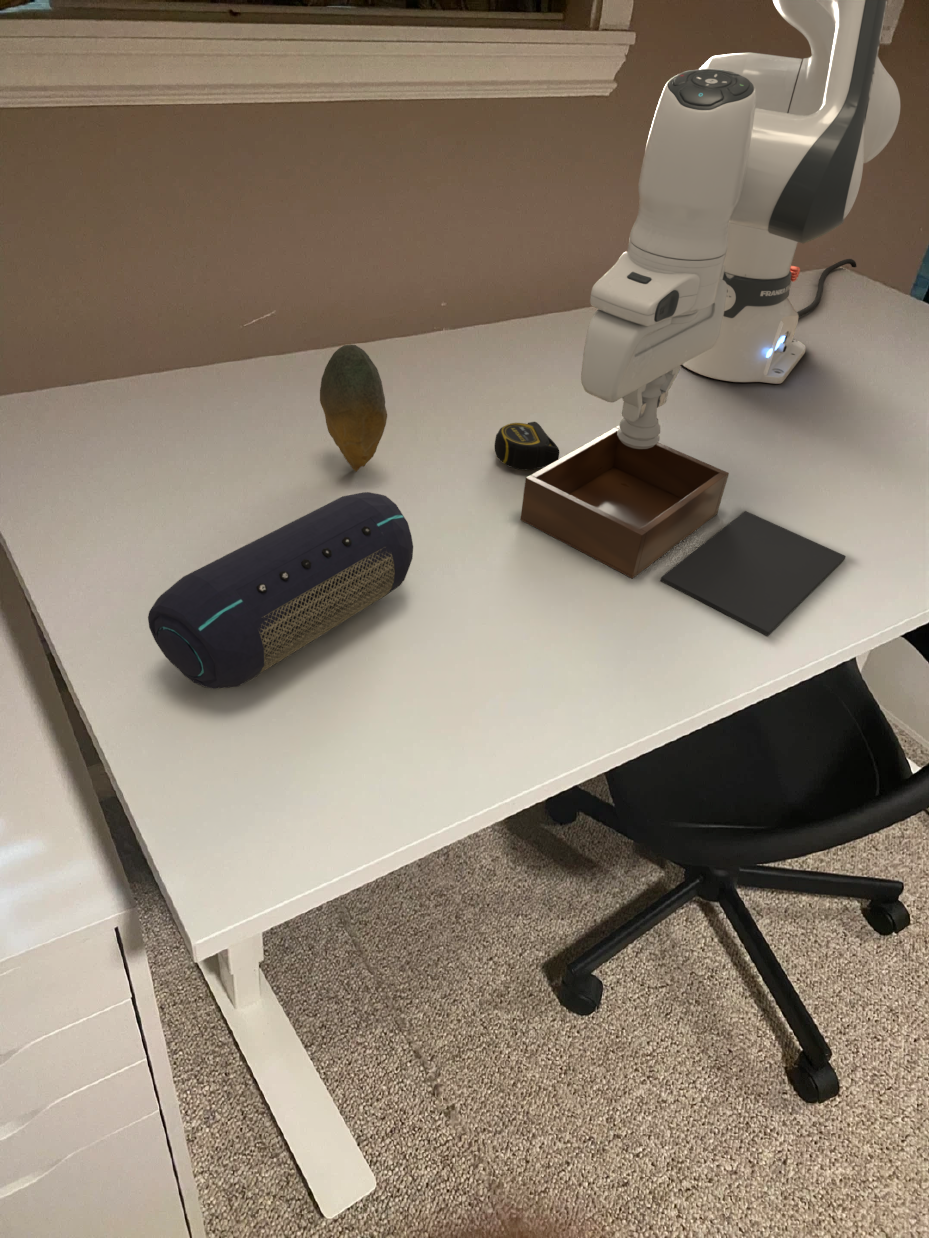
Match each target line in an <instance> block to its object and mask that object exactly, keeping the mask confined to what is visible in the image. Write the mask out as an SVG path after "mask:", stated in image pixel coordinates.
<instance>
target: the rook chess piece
mask: <svg viewBox="0 0 929 1238" xmlns="http://www.w3.org/2000/svg"><path fill="white" fill-rule="evenodd" d="M666 381H667V378H666V376H665V374H664V375H662V376H660V377H658V378H657V379H655V380H653V381H651V382H649V383H648V384H646V388H645V391H643V392H642V401H644V402H646V408H645V410H644V416H643V417H641V418H639V419H638V420H636V421H634V422H632V421H629V420H627V419H625V418H623V417H622V419H621V420H620V421H619V428H620V429H619V430H618V431H617V436H618V437H619V439H620V441H621V442H622V443H623V444H625V445H626V446H629V447H631V448H636V449H648V448H651V447H653V446H654V445H655V444H657V443H658V442H660V434H661V425H660V424H659V418H658V413H657V412H658V408H657V402H658V398H659V396H660V395H661V391H660V387H661V386H662V385H663V384H664V383H665V382H666Z"/></svg>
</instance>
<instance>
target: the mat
mask: <svg viewBox="0 0 929 1238" xmlns="http://www.w3.org/2000/svg"><path fill="white" fill-rule="evenodd" d="M846 557H847V556H846V555H844V554H842V553H840V552H839V551H836V550H834V549H831V548H829V547H827V546H824V545H823V544H820V543H818V542H816V541H814V540H811V539H809V538H807V537H805V536H802V535H801V534H798V533H796V532H794V531H791V530H789V529H787V528H784V527H782V526H780V525H778V524H776V523H774V522H772V521H769V520H767V519H765V518H763V517H760V516H759V515H756V514H754V513H751V512H749V511H747V510H744V511H743V512H742V513H740V515H738V516H737V517H735V518H734V519H733V520H731V521H730V522H729V523H728V524H726V525H725V526H724V527H723V528H721V529H720V530H719V531H718V532H716V533H715V534H714V535H712V536H711V537H710V538H709V539H708V540H706V541H704V543H702V544H701V545H700V546H699V547H697V548H696V549H695V550H694V551H692V552H691V553H689V554H688V555H687V556H686V557H685V558H683V559H681V561H680V562H678V563H677V564H675V565H674V566H673V567H672V568H671V569H669V570H668V571H667V572H665V573H664V574H663V575H662V576H660V579H659V580H660V582H661V583H664V584H666V585H668V586H669V587H672V588H674V589H676V590H677V591H679V592H681V593H684V594H685V595H687V596H689V597H691V598H693V599H695V600H697V601H699V602H700V603H702V604H704V605H706V606H709V607H710V608H712V609H714V610H716V611H718V612H720V613H721V614H724V615H726V616H728V617H730V618H732V619H734V620H736V621H737V622H739V623H742V624H743V625H745V626H747V627H749V628H751V629H753V630H755V631H756V632H759V633H761V634H763V635H764V636H767V637H768V636H769V635H770V634H771V633H772V632H773V631H774V630H775V629H777V627H778V626H779V625H780V624H781V623H782V622H784V620H785V619H786V618H788V616H789V615H791V613H792V612H793V611H794V610H796V608H797V607H798V606H800V604H801V603H803V601H804V600H805V599H807V597H809V596H810V595H811V593H813V592H814V591H815V589H817V587H818V586H820V584H822V583H823V582H824V580H826V579H827V578H828V577H829V576H830V575H831V573H833V571H835V570H836V568H838V567H839V566H840V565H841V564H842V563H843V562H844V561H845V560H846Z"/></svg>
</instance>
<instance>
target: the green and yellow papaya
mask: <svg viewBox="0 0 929 1238" xmlns="http://www.w3.org/2000/svg"><path fill="white" fill-rule="evenodd" d="M319 402H320V406H321V408H322V410H323V411H322V412H323V414H324V417H325V418H324V419H325V424H326V429H327V431H328V433H329V436H330V438H332V440H333V441H334V444H335V445H336V446H337V447H338V448H339V452H340V453H341V454H342V456H343V457H344V459H345V460H346V462H347V463H348V464H349V465H350V467H351V469H352V470H353V471H354V472H355V473H356V472H358V470H359V469H360V468H361V467H365V466H366V465H367V464H368V462H370V461H371V460H372V458H374V455H375V453H376V452H377V450H378V449H377V448H378V446H379V444H380V443H381V439H382V437H383V434H384V431H385V428H386V427H387V426H386V425H387V421H388V420H387V419H388V411H387V407H386V397H385V393H384V387H383V381H382V378H381V376H380V373H379V370H378V367H377V366H376V365H375V363H374V362H373V360H372V359H371V357H370V356H369V354H368V353H367V352H366V351H365V349H363V348H361V347H360V346H358V345H356V344H344V345H342V346H341V347H339V348H338V349H337V350H335V351H334V352H333V354H332V355H331V357H330V359H329V360H328V362H327V364H326V365H325V367H324V372H323V374H322V376H321V381H320V387H319Z"/></svg>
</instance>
